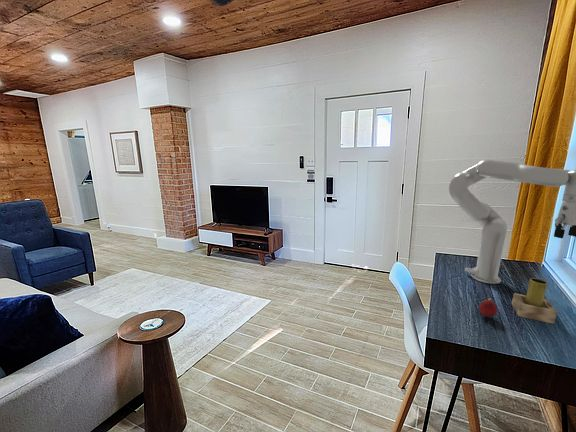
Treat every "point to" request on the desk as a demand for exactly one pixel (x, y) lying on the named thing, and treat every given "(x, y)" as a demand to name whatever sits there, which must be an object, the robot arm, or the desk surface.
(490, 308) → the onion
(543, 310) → the wooden box
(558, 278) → the desk surface
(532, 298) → the vase
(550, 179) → the robot arm
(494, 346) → the desk surface
